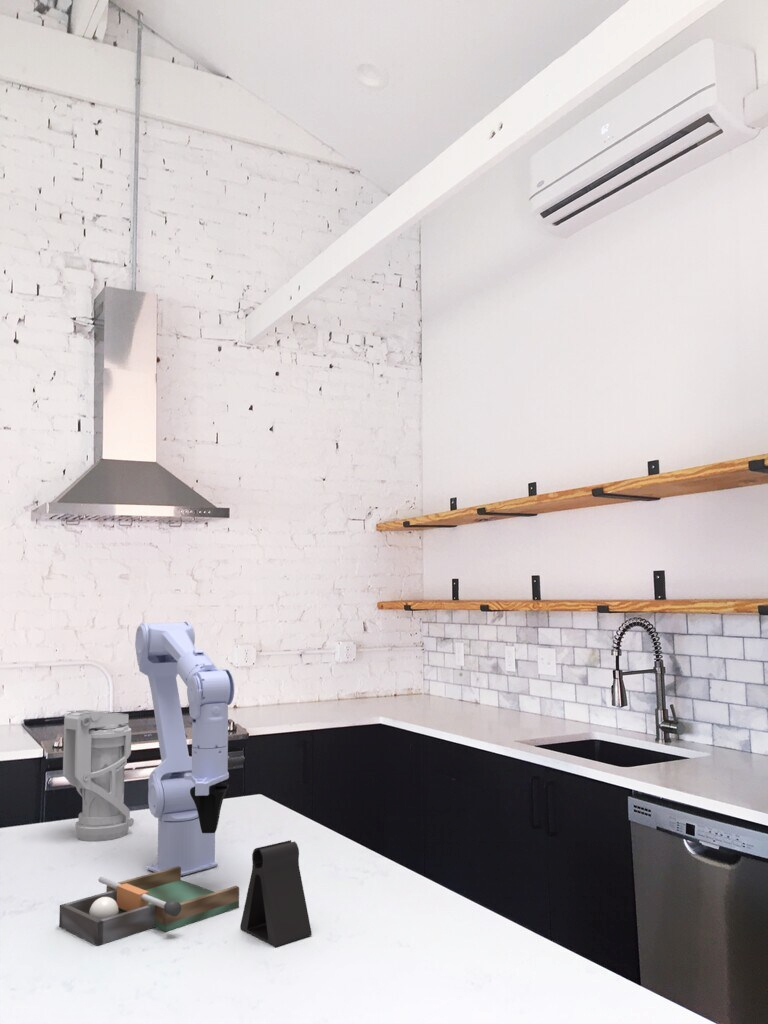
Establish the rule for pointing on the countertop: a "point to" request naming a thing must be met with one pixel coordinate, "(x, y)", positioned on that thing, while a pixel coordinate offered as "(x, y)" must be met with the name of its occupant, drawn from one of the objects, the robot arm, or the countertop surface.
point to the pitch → (147, 908)
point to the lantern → (98, 771)
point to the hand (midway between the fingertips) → (209, 832)
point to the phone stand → (276, 896)
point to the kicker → (139, 898)
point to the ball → (104, 908)
